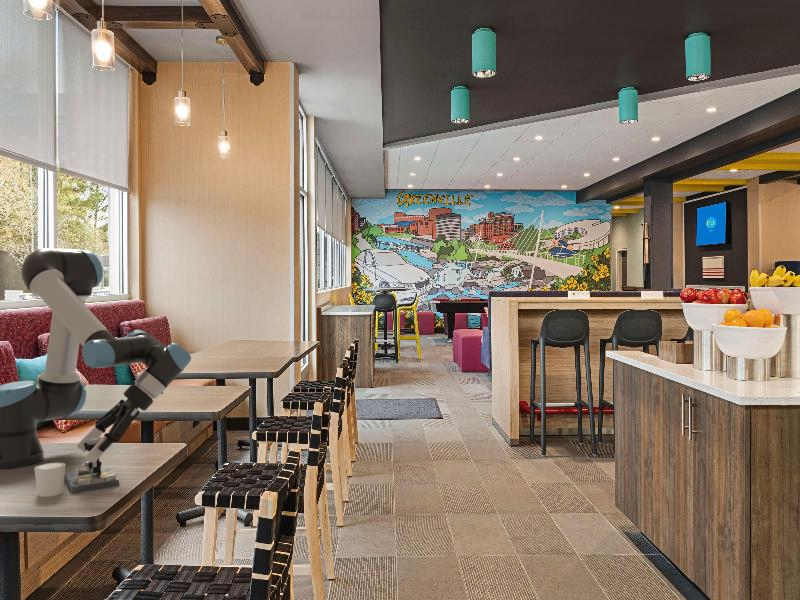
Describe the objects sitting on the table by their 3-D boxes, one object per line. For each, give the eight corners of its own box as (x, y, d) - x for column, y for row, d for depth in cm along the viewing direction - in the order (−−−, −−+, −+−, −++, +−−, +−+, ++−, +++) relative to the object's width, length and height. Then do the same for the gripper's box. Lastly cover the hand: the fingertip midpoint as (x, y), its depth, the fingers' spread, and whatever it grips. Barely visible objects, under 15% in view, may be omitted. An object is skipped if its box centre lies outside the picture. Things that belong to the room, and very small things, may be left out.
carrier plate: (63, 478, 173) (63, 463, 173) (107, 471, 180) (107, 457, 180) (72, 493, 161) (72, 477, 161) (119, 485, 167) (118, 469, 167)
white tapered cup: (58, 487, 166) (58, 460, 166) (70, 492, 162) (70, 465, 162) (30, 493, 161) (29, 466, 161) (41, 499, 157) (41, 471, 156)
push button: (105, 479, 166) (105, 441, 166) (82, 482, 164) (82, 443, 164) (106, 472, 173) (106, 435, 172) (85, 475, 171) (84, 437, 170)
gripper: (166, 407, 167) (105, 474, 159) (143, 394, 187) (87, 452, 179) (145, 388, 164) (81, 456, 155) (123, 377, 184) (66, 436, 176)
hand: (84, 454), depth 167 cm, fingers open, 13 cm apart
